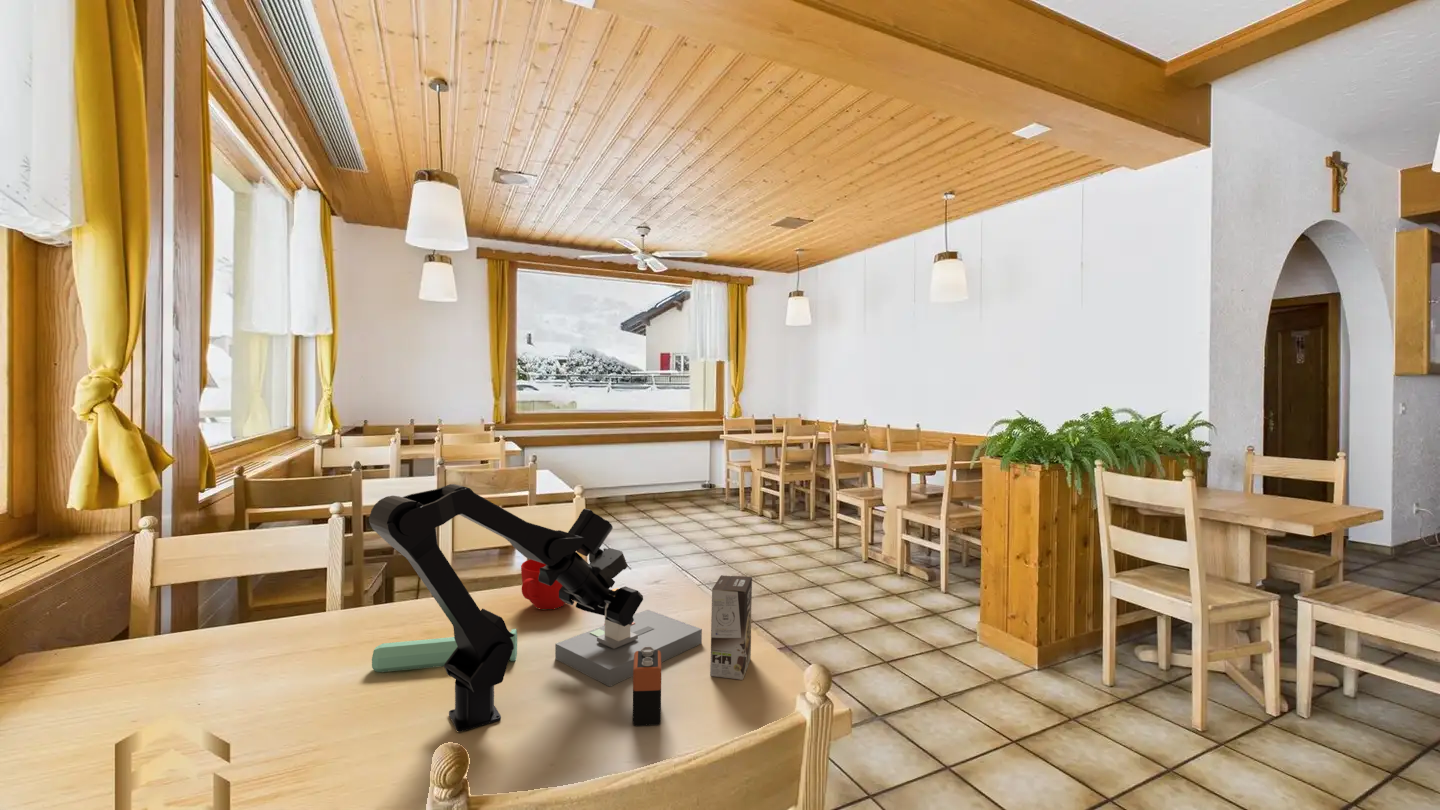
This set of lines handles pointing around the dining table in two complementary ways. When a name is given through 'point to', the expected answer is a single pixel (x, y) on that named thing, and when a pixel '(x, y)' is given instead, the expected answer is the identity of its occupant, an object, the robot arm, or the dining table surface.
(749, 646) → the coffee box
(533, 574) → the ceramic cup
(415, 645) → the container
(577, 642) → the panel
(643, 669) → the battery
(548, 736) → the dining table surface
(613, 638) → the breaker handle
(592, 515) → the robot arm
